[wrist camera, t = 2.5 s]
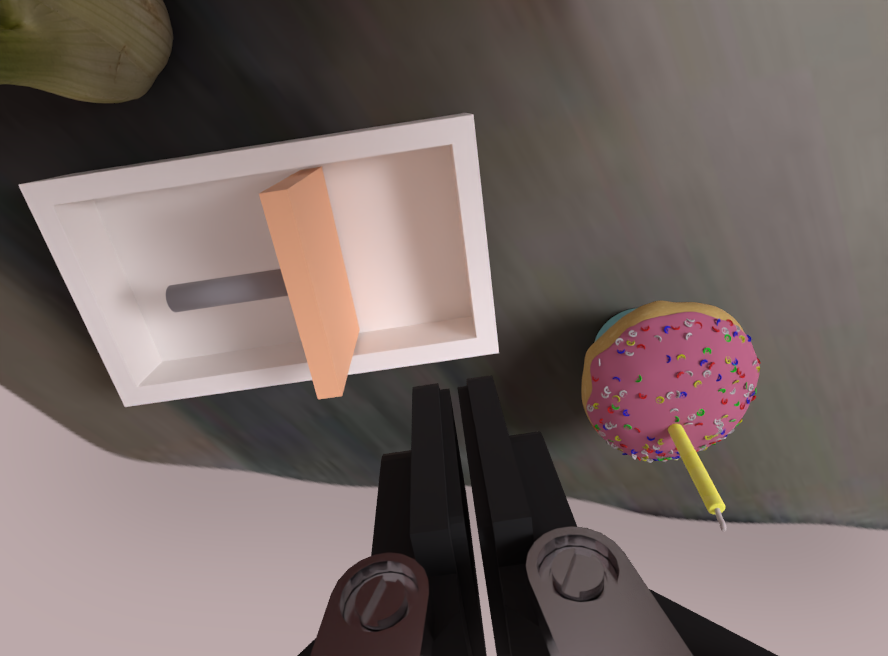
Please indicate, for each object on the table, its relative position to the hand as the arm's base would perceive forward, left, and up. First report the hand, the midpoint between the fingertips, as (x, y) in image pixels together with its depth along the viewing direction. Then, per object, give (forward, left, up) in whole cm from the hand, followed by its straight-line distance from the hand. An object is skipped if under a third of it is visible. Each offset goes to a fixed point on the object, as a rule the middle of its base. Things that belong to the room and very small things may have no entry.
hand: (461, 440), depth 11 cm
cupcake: (-10, +8, -17) cm, 21 cm away
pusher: (+8, 0, -16) cm, 18 cm away
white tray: (+7, 0, -17) cm, 18 cm away
